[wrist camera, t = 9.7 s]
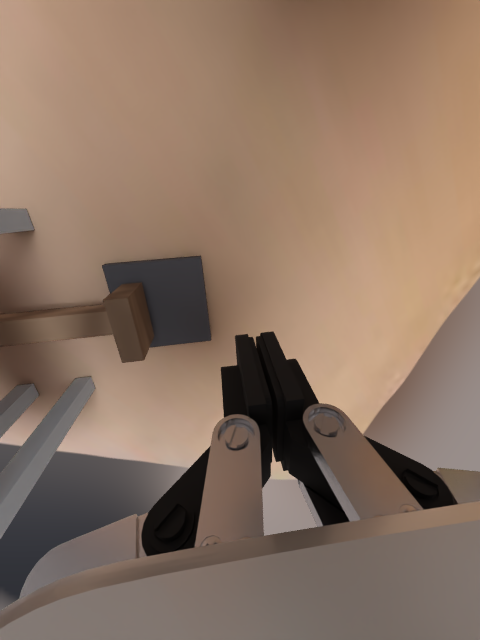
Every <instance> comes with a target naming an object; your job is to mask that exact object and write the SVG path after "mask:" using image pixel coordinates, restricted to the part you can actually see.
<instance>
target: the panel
mask: <svg viewBox="0 0 480 640" xmlns="http://www.w3.org/2000/svg"><path fill="white" fill-rule="evenodd" d="M102 268H103V271H104V274H105V278H106V281H107V285H108V288H109V291H110V294H111V293H112V292H113V291H114V290H116V289H117V288H118V287H119V286H120V285H121V284H130V283H141V282H142V286H143V290H144V294H145V298H146V303H147V307H148V311H149V315H150V320H151V324H152V328H153V333H154V338H153V340H152V343H151V345H150V347H158V346H167V345H175V344H184V343H193V342H202V341H211V332H210V324H209V316H208V309H207V301H206V293H205V285H204V277H203V269H202V261H201V256H192V257H180V258H169V259H157V260H145V261H133V262H121V263H109V264H104V265H102Z"/></svg>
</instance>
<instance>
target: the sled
mask: <svg viewBox="0 0 480 640" xmlns="http://www.w3.org/2000/svg"><path fill="white" fill-rule="evenodd" d="M103 302H104V304H103V305H92V306H82V307H72V308H62V309H51V310H41V311H31V312H20V313H10V314H0V347H2V346H11V345H20V344H30V343H39V342H48V341H58V340H67V339H76V338H85V337H95V336H104V335H114V338H115V341H116V344H117V348H118V351H119V354H120V357H121V360H122V363H125V362H134V361H142V360H144V359H145V357H146V354H147V352H148V350H149V347H150V345H151V343H152V340H153V338H154V333H153V328H152V324H151V320H150V315H149V311H148V307H147V303H146V298H145V294H144V290H143V286H142V282H141V283H130V284H121V285H120V286H119V287H118V288H117V289H116V290H114V291H113V292H112V293H111V294H110V295H109V296H107V297H106V298H105V299H104V300H103Z"/></svg>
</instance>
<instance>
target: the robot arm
mask: <svg viewBox="0 0 480 640" xmlns="http://www.w3.org/2000/svg"><path fill="white" fill-rule="evenodd" d="M235 341H236V354H237V365H236V366H227V367H221V377H222V393H223V408H224V418H223V419H222V420H220V421H219V422H218V423H217V425H216V426H215V428H214V431H213V434H212V440H211V446H210V447H209V448H208V449H207V450H206V451H205V452H204V453H203V454H202V455H201V457H200V458H199V459H198V460H197V461H196V462H195V463H194V464H193V465H192V466H191V467H190V468H189V469H188V470H187V471H186V473H184V474H183V475H182V476H181V478H180V479H179V480H178V481H177V482H176V483H175V484H174V485H173V486H172V487H171V488H170V489H169V490H168V491H167V492H166V493H165V494H164V495H163V496H162V497H161V499H160V500H159V501H158V502H157V503H156V504H155V505H154V506H153V508H152V509H151V510H150V511H149V512H148V513H146V514H144V515H141V516H139V517H138V516H137V514H134V515H132V516H129V517H127V518H125V519H122V520H120V521H117V522H114V523H112V524H110V525H107V526H105V527H102V528H100V529H97V530H95V531H92V532H90V533H87V534H85V535H83V536H80V537H78V538H75V539H73V540H70V541H68V542H65V543H63V544H61V545H59V546H57V547H56V548H54V549H52V550H50V551H49V552H48V553H47V554H46V555H45V556H44V557H42V558H41V559H40V560H39V561H38V562H37V564H36V565H35V567H34V568H33V570H32V571H31V572H30V573H29V575H28V577H27V579H26V581H25V584H24V586H23V588H22V591H21V594H20V597H19V600H17V601H15V602H14V603H12V604H11V605H9V606H7V607H6V608H4V609H3V610H1V611H0V640H480V472H478V471H467V470H455V469H445V468H437V470H436V471H432V470H431V469H429V468H427V467H426V466H424V465H422V464H421V463H418V462H416V461H414V460H412V459H410V458H408V457H406V456H404V455H402V454H400V453H398V452H396V451H394V450H392V449H390V448H388V447H386V446H384V445H382V444H380V443H378V442H376V441H374V440H372V439H370V438H368V437H365V436H363V435H362V433H361V432H360V431H359V430H358V428H357V427H356V426H355V425H354V424H353V422H352V421H351V420H350V419H349V417H348V416H347V415H346V414H345V413H344V412H343V411H342V410H340V409H338V408H337V407H335V406H332V405H329V404H322V403H321V404H319V402H318V400H317V398H316V396H315V394H314V392H313V390H312V388H311V386H310V384H309V383H308V381H307V379H306V377H305V375H304V373H303V371H302V369H301V367H300V365H299V363H298V362H297V360H296V359H289V360H286V358H285V355H284V353H283V351H282V349H281V347H280V345H279V342H278V340H277V338H276V336H275V334H274V332H264V333H261V334H260V336H257V337H256V346H255V342H254V339H253V337H248V334H245V335H235ZM272 449H273V453H274V457H275V460H276V462H279V461H281V464H282V467H283V471H286V470H288V471H289V474H291V475H292V476H294V477H295V478H297V479H298V484H299V487H300V489H301V491H302V494H303V496H304V498H305V500H306V503H307V505H308V507H309V509H310V511H311V514H312V516H313V518H314V520H315V522H316V525H317V527H315V528H309V529H303V530H297V531H291V532H284V533H278V534H273V535H267V536H264V532H263V502H262V488H263V487H264V485H265V484H266V482H267V481H268V479H269V478H270V476H271V463H272Z"/></svg>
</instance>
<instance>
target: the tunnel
mask: <svg viewBox="0 0 480 640" xmlns="http://www.w3.org/2000/svg"><path fill="white" fill-rule="evenodd" d="M30 230H34V227H33V225H32V222H31V220H30V217H29V214H28V212H27V209H0V234H3V233H12V232H21V231H30ZM94 390H95V386H94V383H93V381H92V378H91V377H83V378H75V380H74V381H73V382H72V383H71V385H70V386H69V387H68V388H67V390H66V391H65V392H64V393H63V395H62V396H61V397H60V399H59V400H58V401H57V402H56V404H55V405H54V406H53V407H52V409H51V410H50V411H49V412H48V414H47V415H46V416H45V418H44V419H43V420H42V421H41V423H40V424H39V425H38V426H37V428H36V429H35V430H34V432H33V433H32V434H31V435H30V437H29V438H28V439H27V440H26V442H25V443H24V444H23V445H22V447H21V448H20V449H19V451H18V452H17V453H16V454H15V456H14V457H13V458H12V459H11V461H10V462H9V463H8V464H7V466H6V467H5V468H4V470H3V471H2V472H1V473H0V538H1V537H2V535H3V534H4V532H5V530H6V529H7V527H8V526H9V524H10V523H11V521H12V519H13V518H14V516H15V515H16V513H17V512H18V510H19V508H20V507H21V505H22V503H23V502H24V501H25V499H26V497H27V496H28V494H29V493H30V491H31V490H32V488H33V486H34V485H35V483H36V481H37V480H38V478H39V477H40V475H41V474H42V472H43V470H44V469H45V467H46V466H47V464H48V462H49V461H50V459H51V458H52V456H53V455H54V453H55V451H56V450H57V448H58V447H59V445H60V444H61V442H62V440H63V439H64V437H65V436H66V434H67V432H68V431H69V429H70V428H71V426H72V425H73V423H74V421H75V420H76V418H77V417H78V415H79V413H80V412H81V410H82V409H83V407H84V406H85V404H86V402H87V401H88V399H89V398H90V396H91V394H92V393H93V391H94ZM38 396H39V394H38V392H37V390H36V388H35V386H34V384H25V385H17V386H16V387H15V388H14V389H13V390H12V391H10V392H9V393H8V394H7V395H6V396H5V397H4V398H3V399H2V400H1V401H0V438H1V437H2V436H3V434H4V433H5V432H6V431H7V430H8V429H9V428H10V427H11V426H12V425H13V424H14V422H15V421H16V420H17V419H18V418H19V417H20V416H21V415H22V414H23V413H24V411H25V410H26V409H27V408H28V407H29V406H30V405H31V404H32V403H33V402H34V401H35V399H36V398H37V397H38Z"/></svg>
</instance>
